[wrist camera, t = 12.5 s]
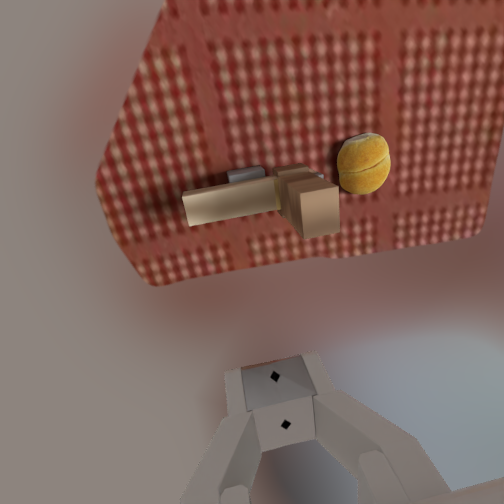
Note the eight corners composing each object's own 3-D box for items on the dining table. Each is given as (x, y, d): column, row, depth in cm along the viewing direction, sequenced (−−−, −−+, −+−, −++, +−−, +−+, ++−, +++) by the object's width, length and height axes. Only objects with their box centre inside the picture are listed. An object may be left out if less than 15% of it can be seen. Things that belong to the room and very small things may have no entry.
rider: (272, 168, 42) (299, 187, 30) (300, 163, 42) (338, 180, 30) (277, 211, 44) (304, 244, 33) (304, 206, 44) (339, 237, 33)
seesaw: (183, 179, 45) (179, 192, 37) (301, 157, 46) (322, 166, 38) (192, 217, 47) (190, 238, 39) (304, 196, 49) (325, 212, 41)
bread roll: (340, 198, 50) (351, 205, 47) (330, 143, 46) (341, 146, 43) (387, 182, 50) (402, 187, 47) (382, 126, 46) (397, 127, 43)
